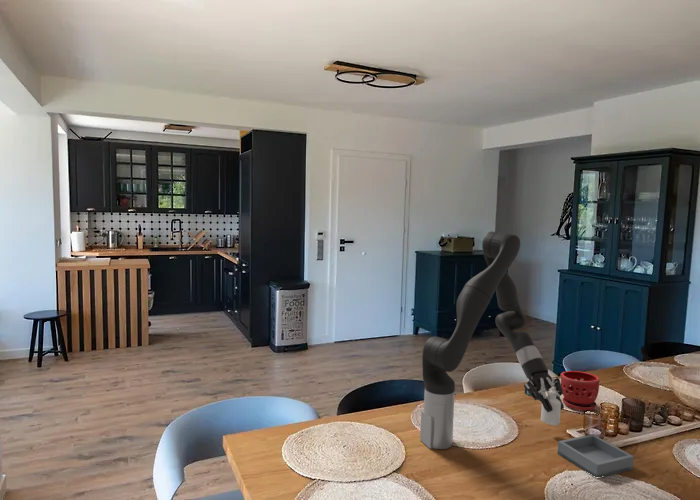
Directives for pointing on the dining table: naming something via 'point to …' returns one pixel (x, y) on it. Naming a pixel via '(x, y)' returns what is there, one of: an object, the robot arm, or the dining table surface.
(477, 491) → the dining table surface
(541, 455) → the dining table surface
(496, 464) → the dining table surface
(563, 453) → the tray
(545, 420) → the eye dropper bottle
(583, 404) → the plant pot
